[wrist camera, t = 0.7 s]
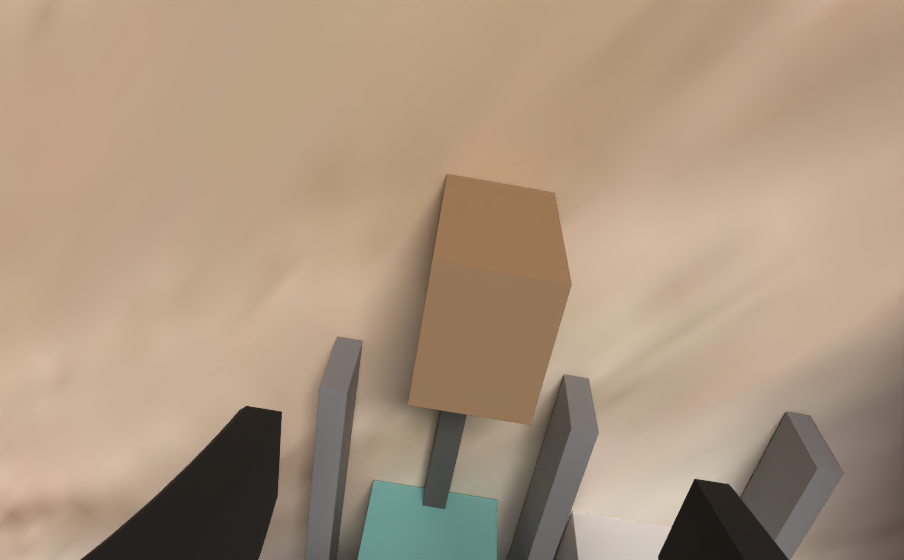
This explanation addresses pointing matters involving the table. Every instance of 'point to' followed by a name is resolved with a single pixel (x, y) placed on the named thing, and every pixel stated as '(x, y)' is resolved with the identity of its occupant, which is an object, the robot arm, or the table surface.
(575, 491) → the dark grey tray
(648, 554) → the grey block
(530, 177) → the table surface
